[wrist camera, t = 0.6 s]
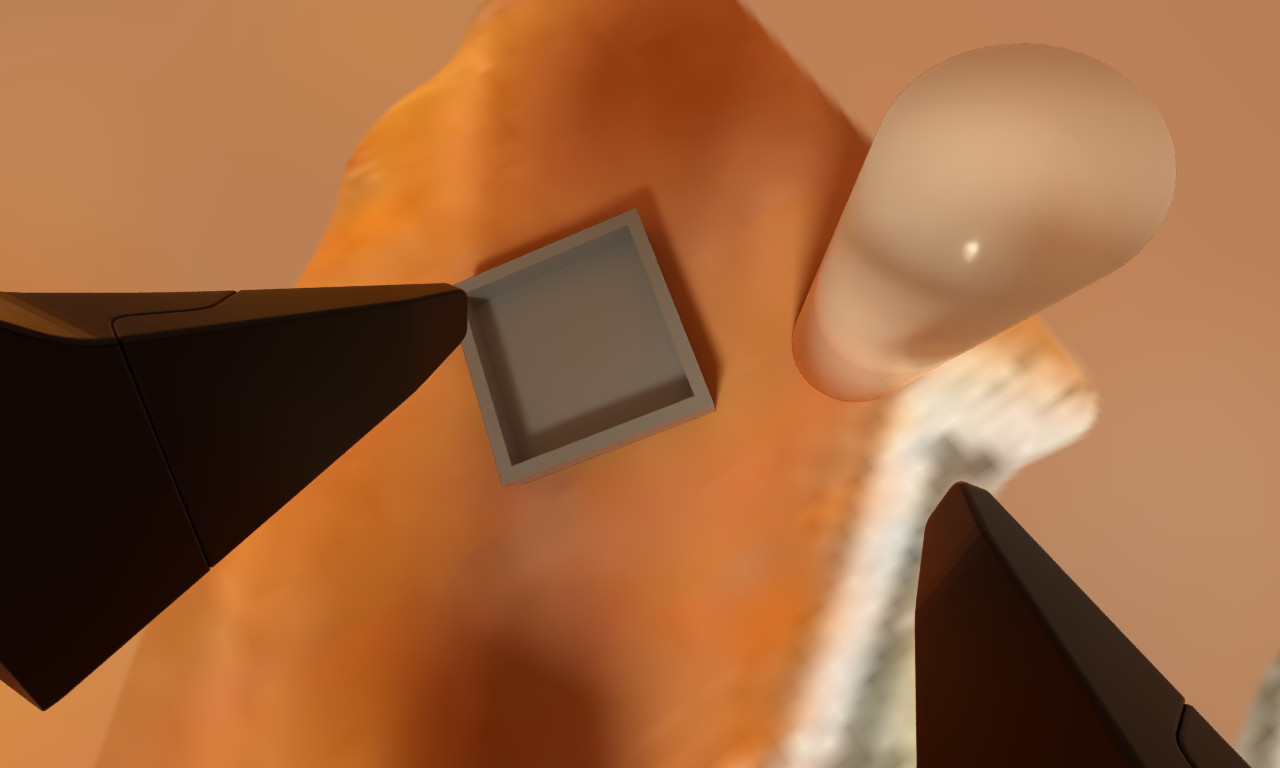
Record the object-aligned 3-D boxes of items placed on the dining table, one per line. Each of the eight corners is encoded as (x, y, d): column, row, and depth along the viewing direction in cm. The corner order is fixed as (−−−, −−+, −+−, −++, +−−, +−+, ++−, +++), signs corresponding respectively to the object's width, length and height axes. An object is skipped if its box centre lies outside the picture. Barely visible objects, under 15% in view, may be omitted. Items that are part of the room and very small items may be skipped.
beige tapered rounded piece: (938, 375, 21) (1239, 226, 9) (820, 419, 22) (945, 337, 9) (884, 269, 23) (1082, 1, 10) (773, 313, 23) (827, 110, 10)
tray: (715, 411, 23) (714, 404, 21) (521, 484, 23) (502, 485, 22) (643, 229, 25) (635, 207, 23) (466, 302, 26) (445, 288, 24)
